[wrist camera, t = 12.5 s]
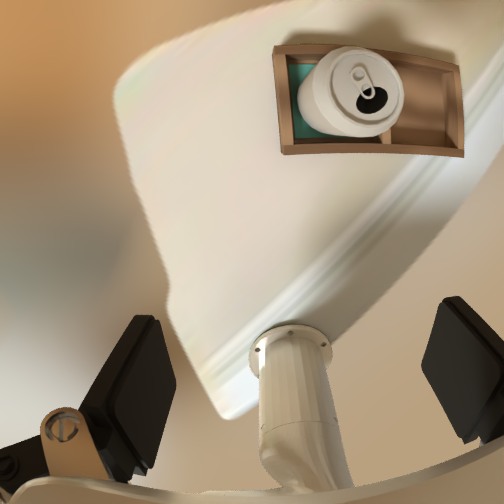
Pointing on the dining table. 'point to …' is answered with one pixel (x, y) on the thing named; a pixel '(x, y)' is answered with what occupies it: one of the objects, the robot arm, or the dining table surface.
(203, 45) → the dining table surface
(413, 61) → the tray
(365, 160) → the dining table surface
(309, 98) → the can
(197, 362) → the dining table surface
